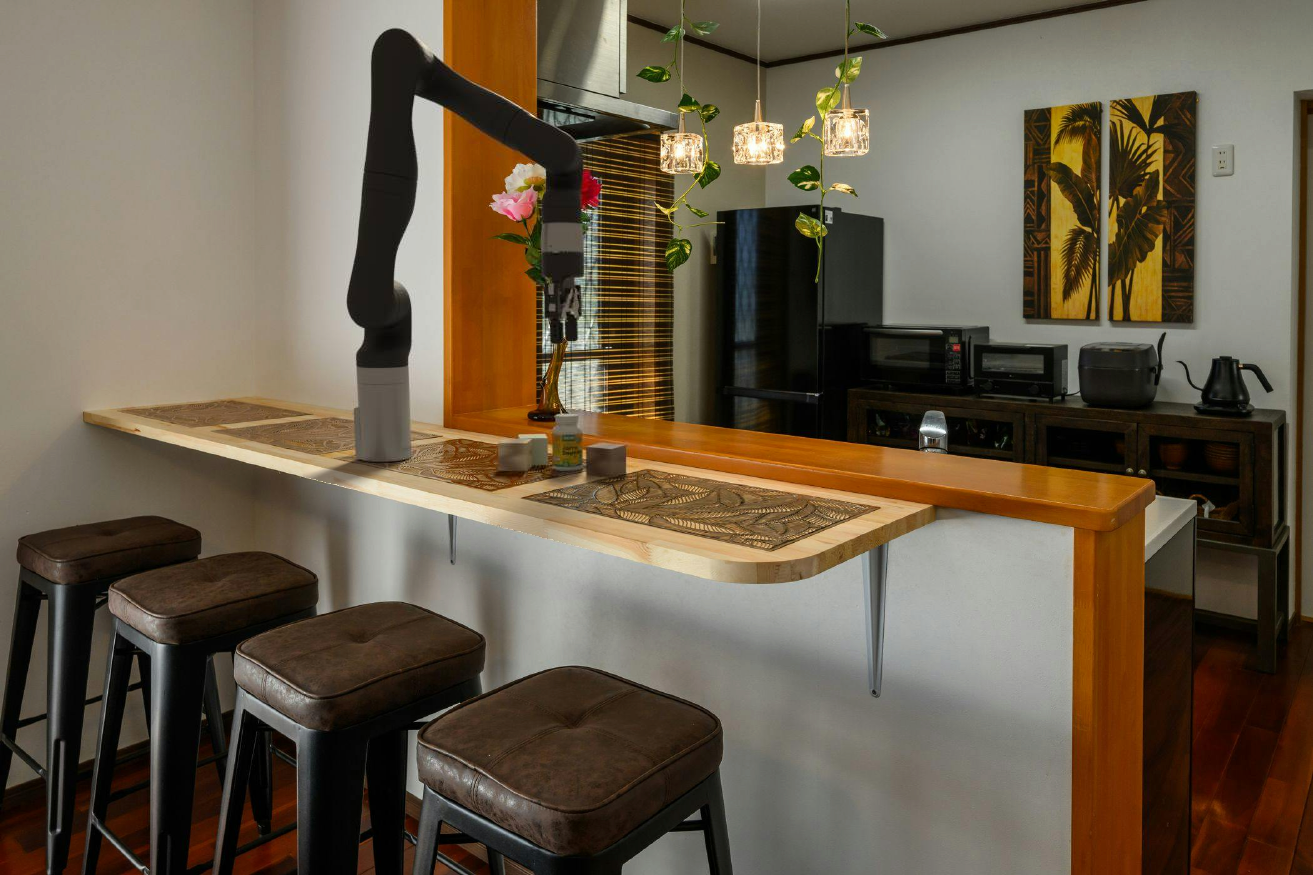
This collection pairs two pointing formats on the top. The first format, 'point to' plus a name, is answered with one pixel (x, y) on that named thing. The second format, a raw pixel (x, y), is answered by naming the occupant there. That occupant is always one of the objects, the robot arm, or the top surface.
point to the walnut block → (605, 460)
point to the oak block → (515, 454)
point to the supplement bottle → (567, 443)
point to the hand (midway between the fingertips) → (564, 342)
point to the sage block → (538, 448)
